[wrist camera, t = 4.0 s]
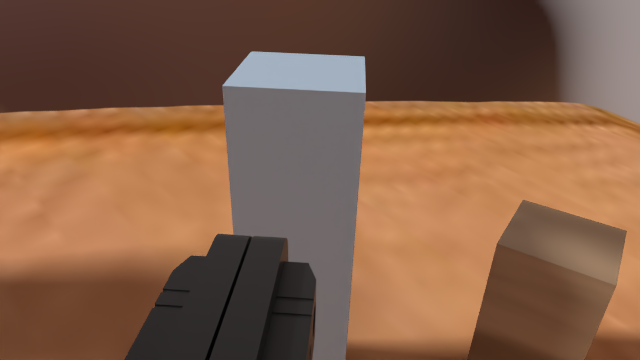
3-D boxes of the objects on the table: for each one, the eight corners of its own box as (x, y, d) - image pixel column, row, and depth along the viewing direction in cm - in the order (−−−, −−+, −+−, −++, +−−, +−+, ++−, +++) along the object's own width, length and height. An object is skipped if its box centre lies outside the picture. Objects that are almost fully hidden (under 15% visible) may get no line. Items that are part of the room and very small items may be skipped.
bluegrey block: (340, 422, 25) (365, 93, 16) (247, 414, 25) (222, 85, 16) (343, 347, 29) (364, 56, 21) (263, 341, 30) (251, 51, 21)
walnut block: (553, 432, 25) (616, 285, 20) (460, 384, 27) (496, 243, 22) (570, 367, 28) (626, 231, 24) (487, 330, 31) (523, 199, 26)
